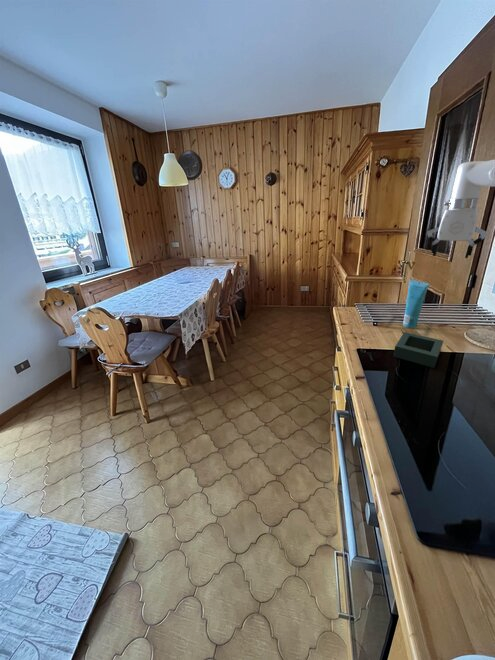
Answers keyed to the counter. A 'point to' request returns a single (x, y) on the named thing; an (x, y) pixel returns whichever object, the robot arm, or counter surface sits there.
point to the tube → (414, 302)
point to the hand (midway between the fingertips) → (450, 256)
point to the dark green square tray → (416, 354)
